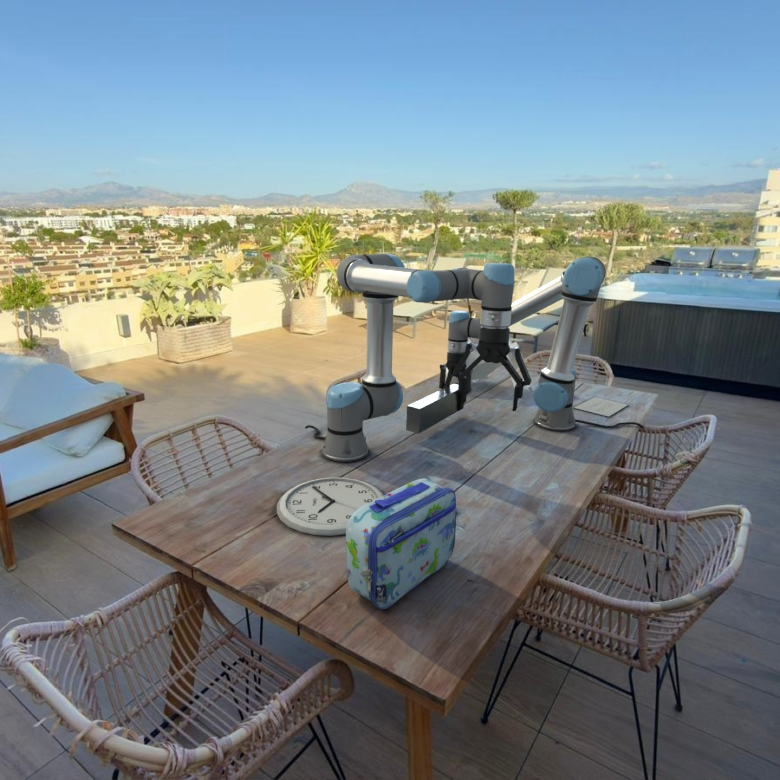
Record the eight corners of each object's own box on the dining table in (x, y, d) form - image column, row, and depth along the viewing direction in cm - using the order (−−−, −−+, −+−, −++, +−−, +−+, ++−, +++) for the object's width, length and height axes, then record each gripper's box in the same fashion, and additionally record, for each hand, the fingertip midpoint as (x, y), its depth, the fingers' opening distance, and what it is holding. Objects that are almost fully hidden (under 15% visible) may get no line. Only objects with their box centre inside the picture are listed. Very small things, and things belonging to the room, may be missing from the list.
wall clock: (392, 527, 129) (268, 531, 127) (391, 533, 130) (269, 537, 127) (383, 473, 158) (282, 475, 155) (383, 478, 158) (282, 480, 156)
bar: (452, 405, 213) (453, 383, 210) (463, 408, 210) (465, 386, 207) (405, 430, 186) (406, 405, 183) (418, 433, 183) (419, 408, 180)
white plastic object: (466, 425, 257) (443, 402, 232) (448, 350, 279) (426, 321, 254) (539, 401, 244) (523, 374, 220) (514, 324, 267) (497, 292, 242)
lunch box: (375, 622, 100) (376, 527, 94) (339, 595, 108) (338, 505, 101) (459, 565, 118) (465, 481, 112) (424, 545, 125) (427, 465, 119)
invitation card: (608, 416, 214) (573, 407, 224) (608, 416, 214) (573, 408, 224) (628, 404, 229) (594, 396, 238) (628, 405, 229) (594, 397, 238)
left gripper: (443, 324, 133) (439, 403, 139) (544, 333, 124) (535, 417, 130) (451, 320, 139) (447, 395, 146) (547, 328, 131) (539, 408, 137)
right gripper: (431, 349, 203) (428, 405, 210) (474, 356, 193) (469, 415, 200) (441, 346, 209) (438, 401, 216) (483, 353, 199) (478, 410, 206)
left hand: (488, 406), depth 138 cm, fingers open, 13 cm apart
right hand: (453, 407), depth 208 cm, fingers closed on bar, 5 cm apart
